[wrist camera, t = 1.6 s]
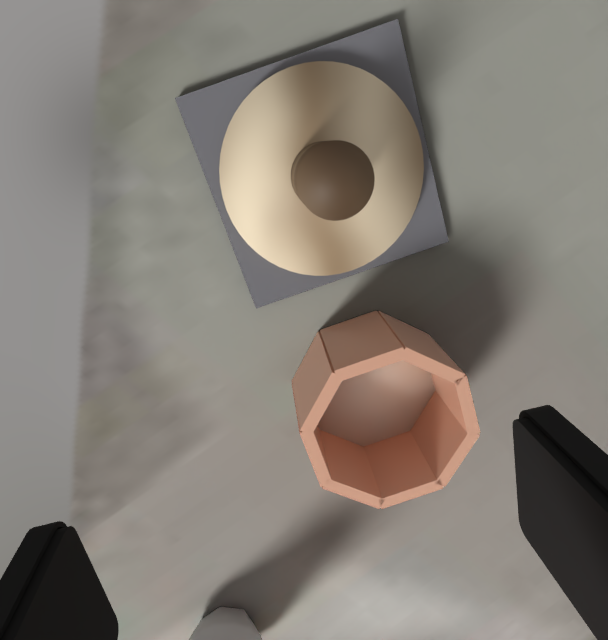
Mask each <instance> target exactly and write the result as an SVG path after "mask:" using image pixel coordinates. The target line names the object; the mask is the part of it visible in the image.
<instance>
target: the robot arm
mask: <svg viewBox="0 0 608 640" xmlns="http://www.w3.org/2000/svg"><path fill="white" fill-rule="evenodd" d="M513 439H514V454H515V469H516V484H517V499H518V514H519V522H520V526H521V529H522V531H523V533H524V535H525V537H526V539H527V540H528V541H529V543H530V544H531V546H532V547H533V549H534V550H535V551H536V553H537V554H538V556H539V557H540V559H541V560H542V561H543V563H544V564H545V566H546V567H547V569H548V570H549V571H550V573H551V574H552V576H553V577H554V578H555V580H556V581H557V583H558V584H559V586H560V587H561V588H562V590H563V591H564V593H565V594H566V596H567V597H568V598H569V600H570V601H571V603H572V604H573V606H574V607H575V608H576V610H577V611H578V613H579V614H580V616H581V617H582V618H583V620H584V621H585V623H586V624H587V626H588V627H589V628H590V630H591V631H592V633H593V634H594V636H595V637H596V638H597V640H608V455H607V454H606V453H605V452H604V451H603V450H601V449H600V448H599V447H598V446H597V445H596V444H594V443H593V442H592V441H591V440H590V439H589V438H588V437H586V436H585V435H584V434H583V433H582V432H581V431H580V430H578V429H577V428H576V427H575V426H574V425H573V424H572V423H570V422H569V421H568V420H567V419H566V418H565V417H563V416H562V415H561V414H560V413H559V412H558V411H557V410H555V409H554V408H553V407H551V406H550V405H545V406H541V407H537V408H532V409H528V410H524V411H522V412H520V415H519V419H517V420H514V421H513ZM117 638H118V621H117V618H116V615H115V613H114V611H113V609H112V607H111V604H110V602H109V600H108V598H107V596H106V594H105V592H104V589H103V587H102V585H101V583H100V581H99V579H98V577H97V574H96V572H95V570H94V568H93V566H92V564H91V562H90V559H89V557H88V555H87V553H86V551H85V549H84V547H83V544H82V542H81V540H80V538H79V536H78V534H77V532H76V530H75V528H73V527H72V526H69V527H67V526H66V524H65V523H63V522H54V523H50V524H47V525H42V526H38V527H34V528H32V529H30V530H29V531H28V533H27V534H26V536H25V538H24V539H23V541H22V543H21V545H20V547H19V548H18V550H17V552H16V553H15V555H14V557H13V558H12V560H11V562H10V564H9V566H8V567H7V569H6V571H5V573H4V574H3V576H2V578H1V580H0V640H117Z"/></svg>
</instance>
